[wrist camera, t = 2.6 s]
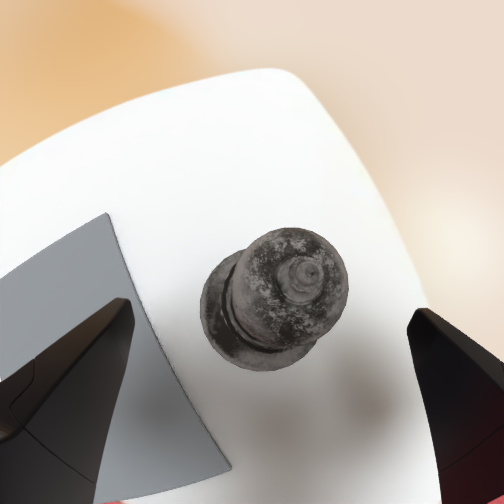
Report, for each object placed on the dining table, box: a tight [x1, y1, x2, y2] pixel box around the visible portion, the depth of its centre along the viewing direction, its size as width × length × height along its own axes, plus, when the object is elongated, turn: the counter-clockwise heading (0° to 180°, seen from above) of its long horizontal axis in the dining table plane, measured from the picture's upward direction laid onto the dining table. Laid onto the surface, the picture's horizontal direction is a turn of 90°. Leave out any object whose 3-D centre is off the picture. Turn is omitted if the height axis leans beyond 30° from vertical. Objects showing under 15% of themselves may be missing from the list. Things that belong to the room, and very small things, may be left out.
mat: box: [0, 213, 231, 504], centre depth 14 cm, size 18×14×1 cm
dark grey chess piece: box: [200, 228, 349, 371], centre depth 11 cm, size 6×6×12 cm
